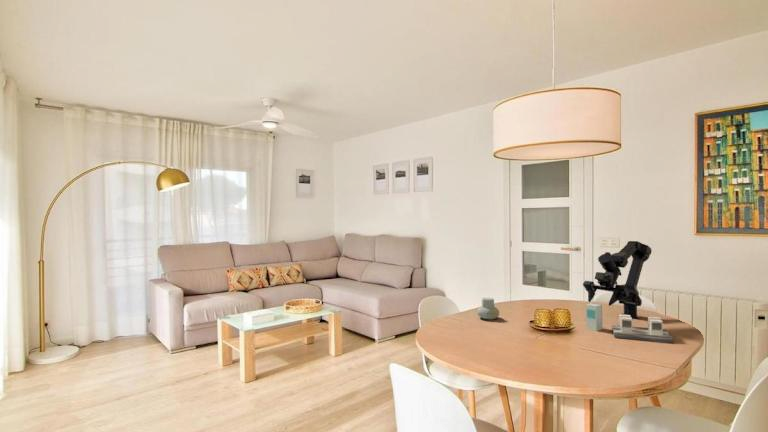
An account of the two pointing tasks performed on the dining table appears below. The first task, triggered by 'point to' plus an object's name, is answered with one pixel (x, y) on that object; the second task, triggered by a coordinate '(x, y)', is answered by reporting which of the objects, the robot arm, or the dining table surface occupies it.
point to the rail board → (641, 330)
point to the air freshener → (488, 309)
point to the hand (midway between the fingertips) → (598, 303)
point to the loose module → (594, 316)
